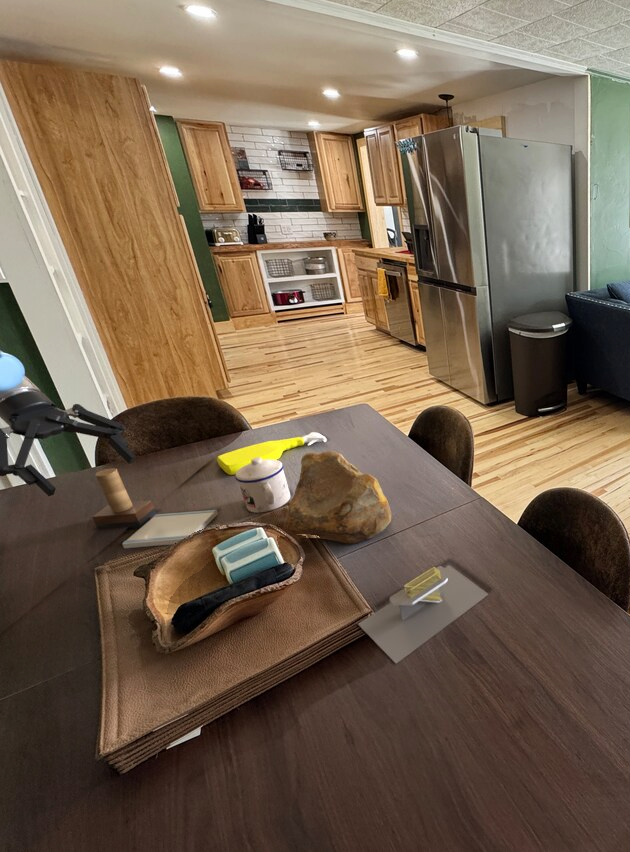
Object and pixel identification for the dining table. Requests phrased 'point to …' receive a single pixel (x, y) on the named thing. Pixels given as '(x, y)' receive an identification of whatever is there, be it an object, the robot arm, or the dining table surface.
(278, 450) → the spray bottle
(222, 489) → the dining table surface
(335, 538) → the rough brown rock
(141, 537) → the tile
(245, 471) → the teacup with lid
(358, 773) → the dining table surface
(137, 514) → the rubber stamp
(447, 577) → the plastering trowel
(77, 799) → the dining table surface
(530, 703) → the dining table surface
